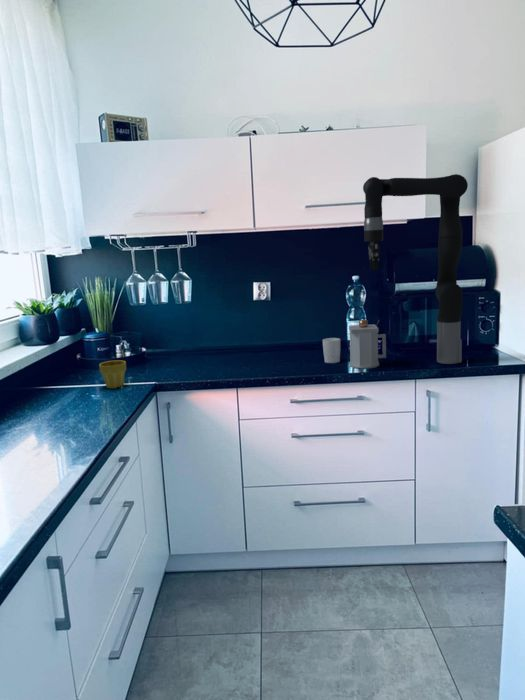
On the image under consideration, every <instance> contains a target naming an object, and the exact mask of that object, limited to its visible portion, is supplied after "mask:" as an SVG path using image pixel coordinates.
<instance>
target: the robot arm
mask: <svg viewBox="0 0 525 700" xmlns="http://www.w3.org/2000/svg"><path fill="white" fill-rule="evenodd" d="M468 186H469V185H468V181H467V179H466V178H465V177H464V176H463V175H461V174H456V173H454V174H451V175H450V174H449V175H447V176H441V177H427V178H426V177H421V178H420V177H391V178H379V177H377V176H376V177H375V176H372V177H369V178H368V179H367V180H366V181H365V182H364V184H363V188H362V190H363V192H364V193H363V194H364V197H365V198H364V200H365V204H364V207H363V209H364V222H363V233H364V237H363V238H364V242H366V243H367V242H370V243H368V247H367V248H368V259H369V265H370V266H369V269H370V270H373V271H379V270H380V269H379V265H380V264H379V263H380V262H379V261H380V258H381V257H380V253H381V252H380V249H381V248H380V243H379V242H383V241H384V221H383V197H389V196H390V197H391V196H392V197H414V196H415V197H416V196H423V195H424V196H426V195H433V196H434V195H436V196H439V204H440V205H439V206H440V215H439V225H438V226H439V228H438V241H437V243H438V244H437V247H438V249H437V251H438V253H437V257H438V259H437V263H438V265H437V266H438V271H437V280H436V286H435V297H436V299H437V301H438V302H439V303H438V313H437V317H436V362H437V363H439V364H442V365H445V364H446V365H453V364H460V363H461V364H462V363H463V362H462V358H463V357H462V356H463V354H462V352H463V349H462V348H463V340H462V339H461V326H462V325H461V323H462V322H461V317H462V315H463V303H464V302H463V301H464V300H463V297H464V295H463V290H462V288H461V286H460V285H459V284H458V282H457V272H458V271H457V269H458V264H459V261H460V258H461V255H462V251H463V239H464V238H463V236H464V235H463V233H464V232H463V226H462V221H461V216H460V203H461V197H462V196H463V195H464V194H465V193H466V192H467V190H468Z"/></svg>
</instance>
